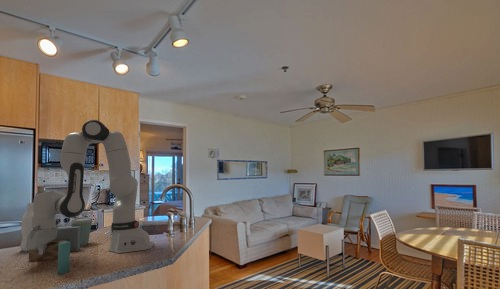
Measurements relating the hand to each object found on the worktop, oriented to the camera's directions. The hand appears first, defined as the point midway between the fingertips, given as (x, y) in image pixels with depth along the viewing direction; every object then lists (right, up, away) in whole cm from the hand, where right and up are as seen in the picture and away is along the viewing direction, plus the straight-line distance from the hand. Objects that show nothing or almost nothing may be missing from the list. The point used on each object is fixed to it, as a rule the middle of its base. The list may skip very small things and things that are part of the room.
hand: (41, 254), depth 126 cm
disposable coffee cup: (+2, -6, +27) cm, 27 cm away
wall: (-3, -5, +15) cm, 16 cm away
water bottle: (-21, -6, +18) cm, 28 cm away
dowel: (+20, -2, -14) cm, 25 cm away
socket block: (-2, -4, +7) cm, 8 cm away
